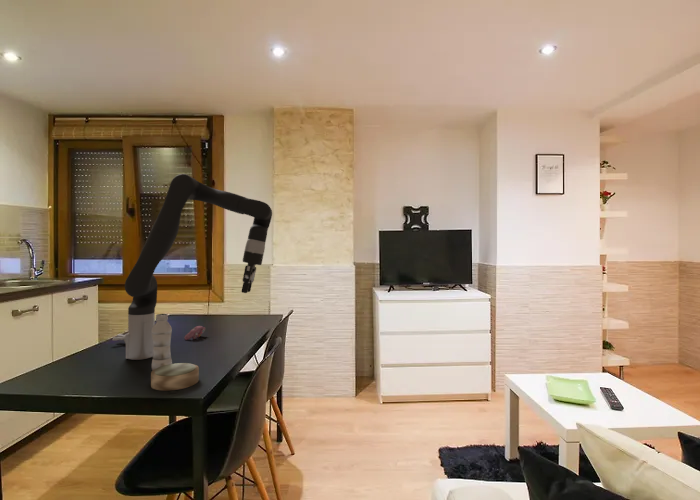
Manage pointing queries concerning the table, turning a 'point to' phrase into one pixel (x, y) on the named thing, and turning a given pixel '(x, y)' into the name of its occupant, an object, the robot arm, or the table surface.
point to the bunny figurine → (120, 337)
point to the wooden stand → (174, 376)
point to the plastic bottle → (161, 342)
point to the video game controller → (195, 332)
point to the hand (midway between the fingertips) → (245, 292)
